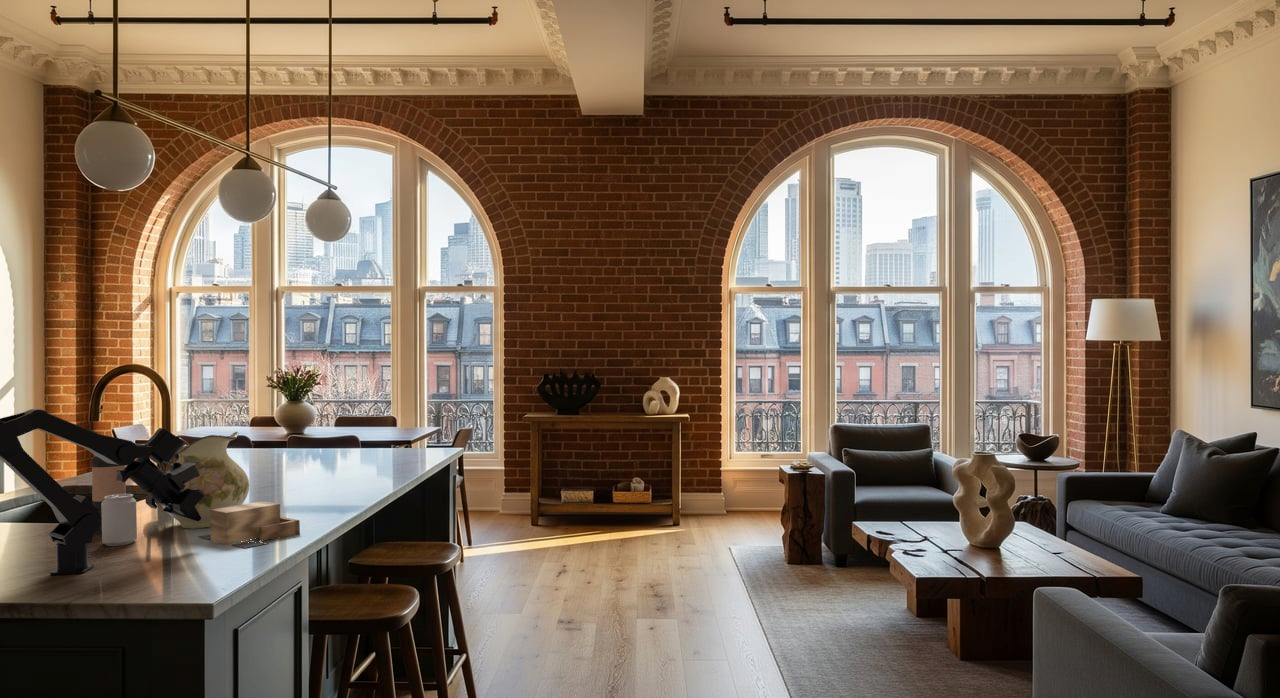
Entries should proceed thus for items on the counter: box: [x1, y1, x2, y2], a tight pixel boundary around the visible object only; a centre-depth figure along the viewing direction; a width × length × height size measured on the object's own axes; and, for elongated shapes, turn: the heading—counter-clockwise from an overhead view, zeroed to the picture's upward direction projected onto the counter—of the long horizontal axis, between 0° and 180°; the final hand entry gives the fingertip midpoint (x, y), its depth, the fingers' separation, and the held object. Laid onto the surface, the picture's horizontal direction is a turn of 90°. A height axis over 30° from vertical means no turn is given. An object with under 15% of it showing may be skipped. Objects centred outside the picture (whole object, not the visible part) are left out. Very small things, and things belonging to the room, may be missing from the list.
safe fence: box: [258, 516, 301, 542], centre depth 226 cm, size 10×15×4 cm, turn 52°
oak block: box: [210, 500, 281, 546], centre depth 222 cm, size 14×8×8 cm, turn 143°
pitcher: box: [158, 431, 250, 529], centre depth 241 cm, size 22×24×25 cm
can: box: [101, 493, 138, 547], centre depth 218 cm, size 8×8×12 cm
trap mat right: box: [231, 539, 267, 549], centre depth 214 cm, size 6×6×1 cm
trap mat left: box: [197, 533, 211, 541], centre depth 224 cm, size 6×6×1 cm
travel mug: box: [91, 455, 127, 535], centre depth 233 cm, size 8×8×20 cm
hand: (199, 519), depth 213 cm, fingers closed
